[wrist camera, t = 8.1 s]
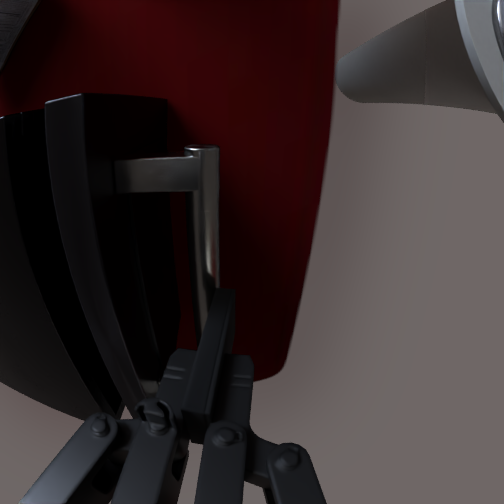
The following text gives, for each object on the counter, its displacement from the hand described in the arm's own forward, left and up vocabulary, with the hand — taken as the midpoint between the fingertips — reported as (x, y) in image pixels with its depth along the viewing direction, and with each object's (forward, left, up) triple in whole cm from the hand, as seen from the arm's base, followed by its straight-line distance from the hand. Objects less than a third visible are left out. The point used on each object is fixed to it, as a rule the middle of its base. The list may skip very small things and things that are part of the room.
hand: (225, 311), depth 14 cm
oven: (+16, 0, -11) cm, 19 cm away
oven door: (+5, 0, -11) cm, 12 cm away
